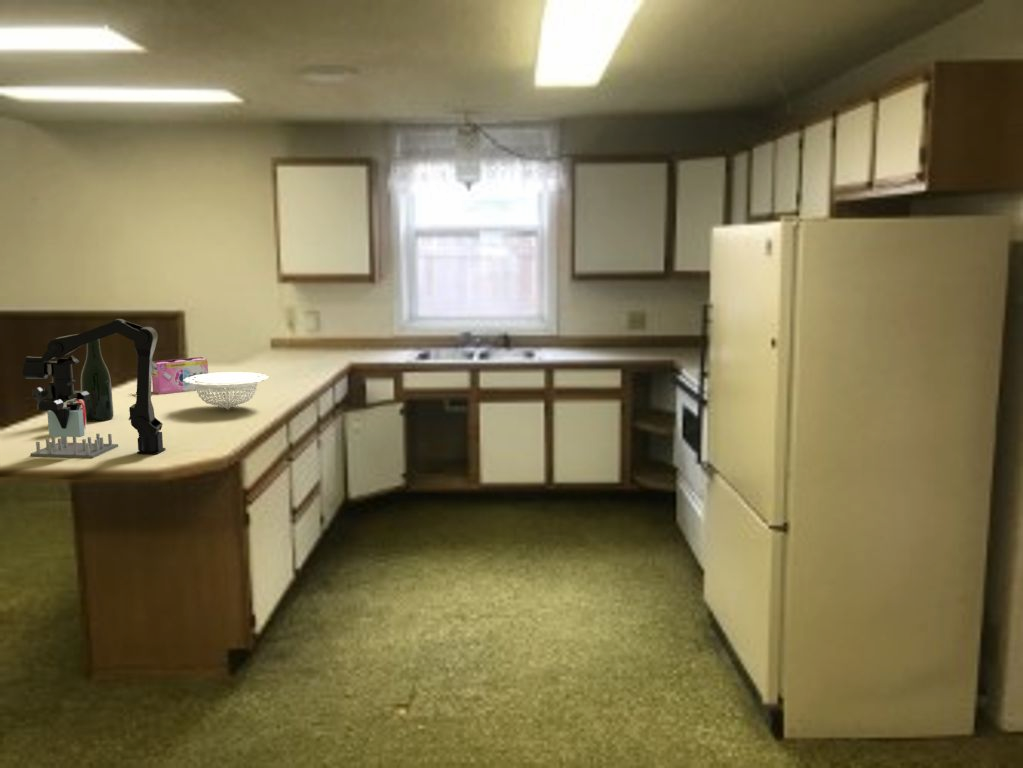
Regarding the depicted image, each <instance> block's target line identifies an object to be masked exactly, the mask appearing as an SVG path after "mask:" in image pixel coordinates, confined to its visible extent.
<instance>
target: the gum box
mask: <svg viewBox="0 0 1023 768" xmlns="http://www.w3.org/2000/svg"><path fill="white" fill-rule="evenodd" d="M208 361H209V360H208V358H204V357H202V356H199V357H196V356H195V357H188V358H187V357H186V358H185V357H184V358H178V359H177V358H175V359H166V360H165V359H164V360H154V361H153V360H152V380H151V387H152V392H153V393H155V394H157V395H162V394H163V395H164V394H173V393H180V392H181V393H183V392H190V391H197V389H196V387H195V385H194V384H189V383H186V382H185V381H183V380H184V379H185V378H188V377H190V376H194V375H201V374H205V375H206V374H209V363H208ZM192 380H193V379H192ZM208 389H209V388H208ZM209 390H210V389H209Z"/></svg>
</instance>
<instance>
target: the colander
mask: <svg viewBox="0 0 1023 768" xmlns="http://www.w3.org/2000/svg"><path fill="white" fill-rule="evenodd" d="M269 377H270V376H268V375H266V374H264V373H263V374H262V373H257V372H248V371H244V372H243V371H227V372H225V371H224V372H213V373H212V372H211V373H210V372H208V374H206V375H205V374H201V375H194V376H190V377H188V378H185V379H184V380H183V381H185V382H186V383H189V384H194V385H195V387H196V389H197V390H196V393H197V395H198V397H199V398H200V399H201V401H203V402H205V403H206V404H209V405H212V406H218V407H220V408H225V409H226V410H227V409H228V410H230V408H233V407H237V406H238V405H242V404H244V403H247V402H249V401H250V400H252V399H253V397H254V396H255V394H256V391H257V390H258V389H257V386H258V383H260V382H265V380H268V378H269ZM192 379H193V380H192ZM208 388H209V389H208ZM214 393H215V394H214Z"/></svg>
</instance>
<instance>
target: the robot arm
mask: <svg viewBox="0 0 1023 768" xmlns="http://www.w3.org/2000/svg"><path fill="white" fill-rule="evenodd" d="M114 334H119V335H121V336H123V337H124V338H127V339H128V340H131V341H133V344H134V349H135V352H136V356H137V367H136V398H135V399H136V400H135V403H134V404H132V405H131V406H129V407H128V408H129V409H128V410H129V411H128V412H129V417H128V421H130V425H131V427H133V428H134V429H135V430H136V431H137V433H138V437H137V452H136V453H137V455H138V454H139V455H140V454H141V455H142V454H143V455H157V454H159V453H162V452H163V451H165V450H166V447H164V442H163V441H164V440H163V431H161V430H162V428H163V422H161V420H159V419H157V418H156V415H155V409H154V406H153V403H152V399H151V398H152V361H153V357H154V353H155V349H156V346H157V343H158V337H159V335H158V332H157V330H156V329H155V328H153V327H152V326H142V325H140V324H137V323H133V322H130V321H127V320H125V319H123V318H116V319H114V320H112V321H111V322H108V323H106V324H102V325H100V326H98V327H93V328H92V329H89V330H86V331H83V332H80V333H77V334H69V335H65V336H59V337H57V338H53V339H52V340H49V341H48V343H47V347H46V351H45V352H44V354H43V356H33V355H32V356H29V355H27V356H25V357H24V363H23V368H22V374H23V377H24V378H25V379H26V380H28V379H29V380H30V379H31V380H34V379H35V380H36V379H48V377H49V376H51V379H52V380H51V381H50V382H49V383H48V387H46V388H42V387H40V386H39V387H35V388H33V389H32V398H33V399H34V400H36V401H37V404H36V405H37V410H38V411H49V410H51V411H52V412H54V413H55V415H56V417H57V419H58V421H59V423H60V425H61V427H62V429H65V428H66V426H67V422H68V417H69V412H70V410H79V408H80V406H81V405H82V403H78V401H77V399H83V401H87V400H90V394H89V393H88V392H87V391H81V390H75V388H74V385H75V384H77V380H75V379H74V375H73V365H76V364H78V363H80V360H79V359H77V358H76V357H75V356H74V355H70V356H69V357H65V356H66V355H69V354H71V353H73V352H74V351H76V350H78V349H79V348H81V347H83V346H84V345H87V343H90V342H93V341H95V340H98V339H99V340H100V339H103V338H106V337H109V336H112V335H114ZM62 357H63V358H62ZM57 358H58V359H57ZM54 359H57V361H56V360H55V361H53V360H54Z"/></svg>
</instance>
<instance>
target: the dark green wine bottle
mask: <svg viewBox="0 0 1023 768" xmlns="http://www.w3.org/2000/svg"><path fill="white" fill-rule="evenodd" d="M111 381H112V380H111V375H110V372H109V369H108V367H107V364H106V362H105V360H104V358H103V356H102V351H101V345H100V339H98V340H95V341H93V342H90V343H87V344H86V357H85V361H84V365H83V367H82V370H81V375H80V391H87V392H88V393H89V394H90V400H87V401H84V402H85V412H86V422H102V421H108V420H109V421H110V420H111V419H113V418H114V416H115V415H114V403H113V391H112V389H113V388H112V383H111Z"/></svg>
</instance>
